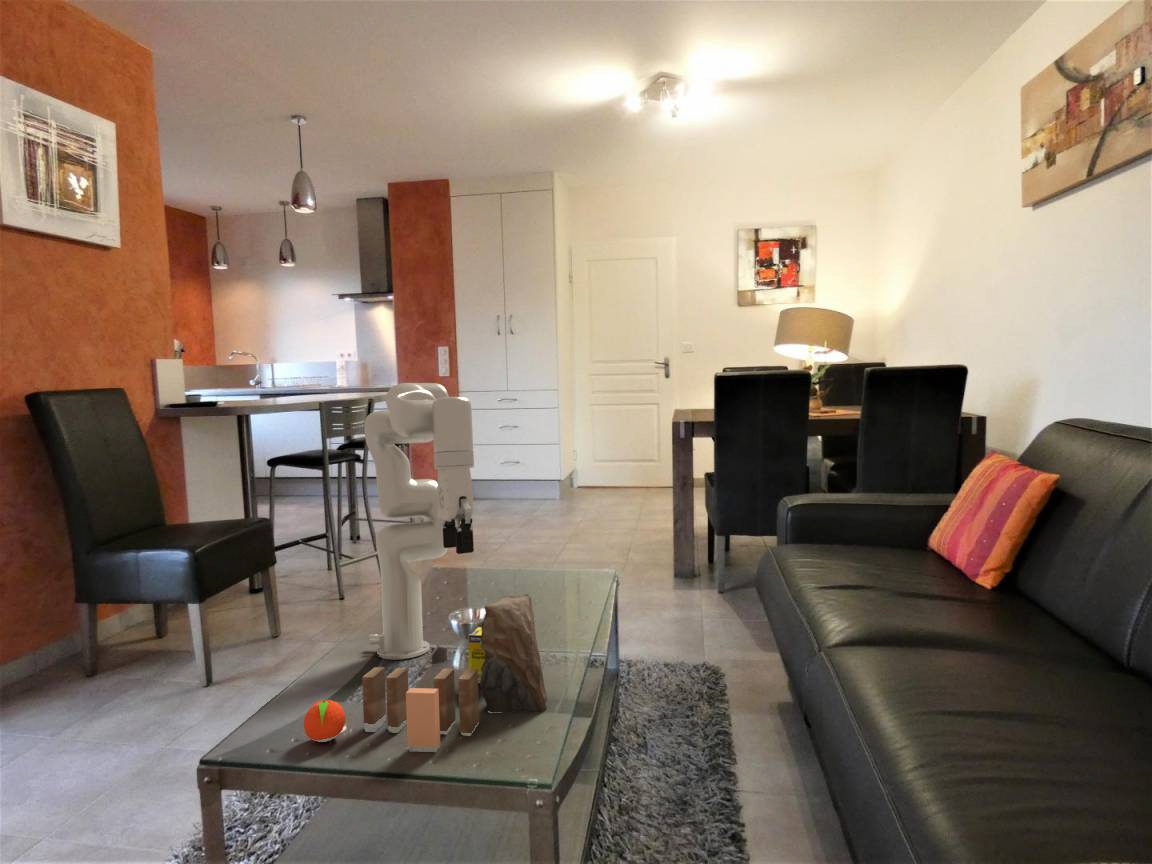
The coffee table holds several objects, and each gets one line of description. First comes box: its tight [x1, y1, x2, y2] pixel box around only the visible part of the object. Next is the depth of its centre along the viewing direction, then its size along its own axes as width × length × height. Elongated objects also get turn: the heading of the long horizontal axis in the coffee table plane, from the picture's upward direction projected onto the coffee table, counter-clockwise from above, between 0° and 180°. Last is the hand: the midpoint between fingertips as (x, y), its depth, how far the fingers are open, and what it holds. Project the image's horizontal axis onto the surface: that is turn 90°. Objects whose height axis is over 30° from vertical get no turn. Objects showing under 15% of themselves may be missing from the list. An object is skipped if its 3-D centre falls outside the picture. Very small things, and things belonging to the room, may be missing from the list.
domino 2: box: [385, 667, 409, 727], centre depth 121 cm, size 2×5×10 cm, turn 172°
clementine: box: [303, 699, 346, 740], centre depth 116 cm, size 8×7×7 cm
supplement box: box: [467, 626, 485, 688], centre depth 142 cm, size 6×6×11 cm
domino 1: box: [361, 666, 387, 724], centre depth 122 cm, size 2×5×10 cm, turn 172°
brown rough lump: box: [480, 593, 548, 713], centre depth 132 cm, size 13×13×20 cm
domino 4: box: [433, 668, 457, 731], centre depth 120 cm, size 2×5×10 cm, turn 172°
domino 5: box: [457, 668, 480, 733], centre depth 119 cm, size 2×5×10 cm, turn 172°
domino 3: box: [406, 687, 441, 747], centre depth 112 cm, size 2×5×10 cm, turn 81°
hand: (458, 550), depth 127 cm, fingers open, 9 cm apart
